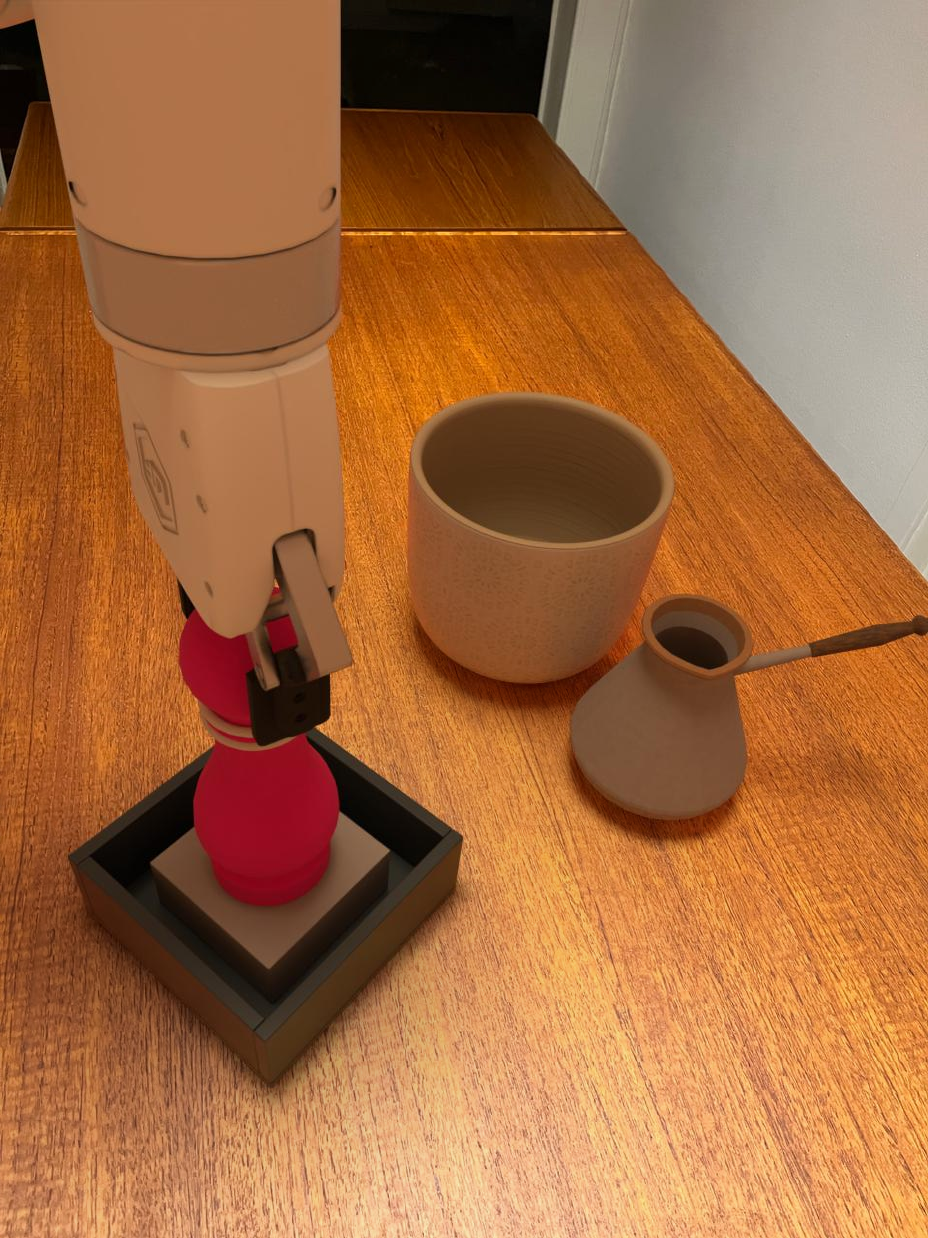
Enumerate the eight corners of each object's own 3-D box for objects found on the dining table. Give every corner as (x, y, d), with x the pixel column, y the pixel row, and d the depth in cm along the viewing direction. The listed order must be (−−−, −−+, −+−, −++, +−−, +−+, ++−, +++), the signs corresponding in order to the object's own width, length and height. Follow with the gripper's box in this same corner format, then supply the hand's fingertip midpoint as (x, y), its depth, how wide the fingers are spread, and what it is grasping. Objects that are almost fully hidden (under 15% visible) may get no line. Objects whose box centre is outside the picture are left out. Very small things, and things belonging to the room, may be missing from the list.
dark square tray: (86, 911, 54) (66, 856, 50) (279, 754, 63) (275, 697, 59) (271, 1089, 48) (264, 1043, 44) (455, 889, 57) (464, 836, 53)
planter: (420, 729, 65) (435, 557, 54) (384, 561, 77) (391, 393, 66) (658, 705, 68) (716, 539, 58) (589, 548, 80) (627, 386, 70)
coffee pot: (573, 840, 60) (621, 677, 49) (554, 698, 68) (592, 532, 58) (904, 846, 62) (1019, 690, 51) (847, 707, 70) (936, 548, 59)
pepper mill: (176, 845, 52) (115, 565, 38) (289, 777, 56) (271, 499, 42) (251, 944, 48) (214, 674, 34) (366, 864, 52) (375, 592, 38)
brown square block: (159, 901, 54) (149, 862, 51) (278, 800, 59) (274, 760, 57) (272, 1005, 50) (268, 969, 48) (388, 888, 56) (390, 850, 53)
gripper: (12, 175, 33) (103, 570, 45) (200, 447, 23) (251, 859, 35) (225, 151, 36) (255, 526, 48) (472, 380, 26) (431, 779, 38)
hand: (253, 664), depth 42 cm, fingers open, 7 cm apart
